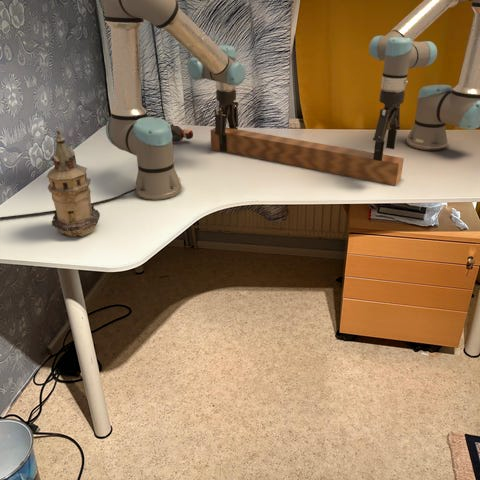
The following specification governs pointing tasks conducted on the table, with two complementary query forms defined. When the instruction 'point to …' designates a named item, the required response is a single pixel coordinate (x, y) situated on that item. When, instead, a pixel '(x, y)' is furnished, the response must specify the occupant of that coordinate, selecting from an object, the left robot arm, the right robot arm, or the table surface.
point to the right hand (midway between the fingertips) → (383, 154)
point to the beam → (311, 155)
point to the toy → (180, 133)
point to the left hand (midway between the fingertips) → (227, 148)
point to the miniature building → (70, 193)
